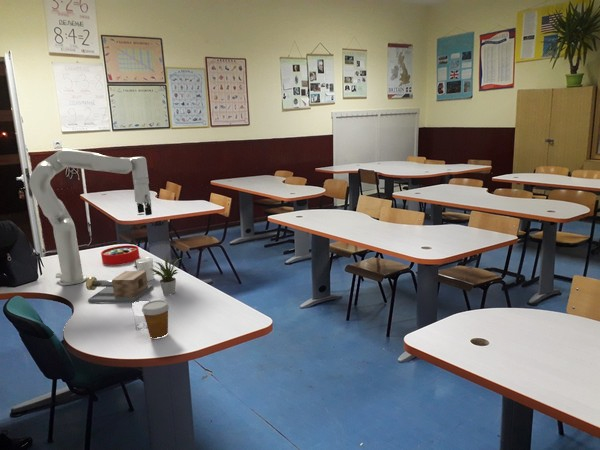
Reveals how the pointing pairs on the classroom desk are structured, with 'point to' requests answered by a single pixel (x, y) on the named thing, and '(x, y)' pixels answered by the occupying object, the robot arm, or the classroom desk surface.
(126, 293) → the block
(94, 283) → the shaft
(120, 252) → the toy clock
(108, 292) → the base mat
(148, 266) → the white cup
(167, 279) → the house plant
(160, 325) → the disposable coffee cup
